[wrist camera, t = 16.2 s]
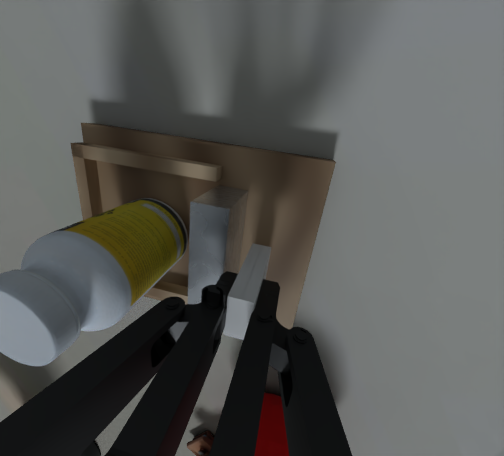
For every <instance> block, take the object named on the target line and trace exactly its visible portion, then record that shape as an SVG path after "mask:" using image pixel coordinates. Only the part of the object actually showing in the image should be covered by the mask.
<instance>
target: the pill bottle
mask: <svg viewBox="0 0 504 456" xmlns="http://www.w3.org/2000/svg"><path fill="white" fill-rule="evenodd" d="M187 244H188V235H187V230H186V227H185V224H184V222H183V220H182V219H181V217H180V216H179V215H178V214H177V212H176V211H175V210H174V209H172V208H171V207H170V206H169V205H167V204H165V203H163V202H161V201H159V200H156V199H151V198H142V199H137V200H134V201H131V202H128V203H126V204H123V205H121V206H118V207H116V208H113V209H111V210H108V211H105V212H103V213H101V214H98V215H96V216H93V217H90V218H88V219H85V220H83V221H80V222H78V223H75V224H72V225H70V226H67V227H65V228H62V229H59V230H57V231H54V232H52V233H49V234H47V235H45V236H43V237H41V238H39V239H38V240H36V241H35V242H34V243H33V244H32V245H31V246H30V247H29V248H28V250H27V251H26V253H25V255H24V257H23V260H22V263H21V270H11V271H9V272H4V273H1V274H0V352H1V353H3V354H4V355H6V356H7V357H9V358H11V359H13V360H15V361H17V362H19V363H22V364H26V365H29V366H44V365H47V364H49V363H50V362H52V361H53V360H54V359H55V358H57V357H58V356H59V355H60V354H61V353H62V352H64V351H65V350H66V349H67V348H68V347H70V346H71V345H72V344H73V343H74V342H75V340H76V339H77V338H78V337H79V335H80V331H98V330H103V329H106V328H108V327H111V326H112V325H114V324H116V323H117V322H118V321H120V320H121V319H122V318H123V317H124V316H125V315H126V314H127V313H128V312H129V311H130V310H131V309H132V308H133V306H134V305H135V304H136V303H137V302H138V301H139V300H140V299H141V298H142V297H143V296H144V295H145V294H146V293H147V292H148V291H149V290H150V289H151V288H152V287H153V286H154V285H155V284H156V283H157V282H158V281H159V280H160V279H161V278H162V277H163V276H164V275H165V274H166V273H167V272H168V271H169V270H170V269H171V268H172V267H173V266H174V265H175V264H176V263H177V262H178V261H179V260H180V259H181V258H182V256H183V255H184V253H185V251H186V248H187Z"/></svg>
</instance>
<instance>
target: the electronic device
mask: <svg viewBox="0 0 504 456" xmlns="http://www.w3.org/2000/svg"><path fill="white" fill-rule="evenodd" d="M213 440H214V437H213V436H212V435H211V432H210V431H208V430H207V431H206V432H204V433H202V434H200V435H198V436H196V437H194V438H193V440H192V441H190V442H188V443H187V448H188V449H190V450H191V451H192V452H193V453H194V454H195V455H196V456H209V454H210V451H211V447H212V444H213Z"/></svg>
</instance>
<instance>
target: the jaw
mask: <svg viewBox="0 0 504 456" xmlns="http://www.w3.org/2000/svg"><path fill="white" fill-rule="evenodd" d="M248 191H249V190H243V189H238V188H232V187H227V186H221V185H218V186H216V187H215V188H213V189H211V190H209V191H208V192H206V193H204V194H203V195H201V196H199V197H198V198H196V199H194V200H192V201H191V202H190V235H189V271H188V304H198V303H201V294H202V289H203V288H204V287H205V286H208V285H216V283H217V281H218V280H219V278H220V276H221V274H223V273H225V272H226V271H229V272H233V273H237V274H238V270H239V262H240V254H241V246H242V238H243V230H244V223H245V215H246V207H247V199H248Z"/></svg>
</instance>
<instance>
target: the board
mask: <svg viewBox="0 0 504 456" xmlns="http://www.w3.org/2000/svg"><path fill="white" fill-rule="evenodd" d="M81 127H82V134H83V141H84V143H71V149H72V155H73V161H74V167H75V173H76V179H77V185H78V191H79V198H80V204H81V210H82V216H83V220H85V219H88V218H90V217H93V216H96V215H98V214H101V213H103V212H105V211H108V210H111V209H113V208H116V207H118V206H121V205H123V204H126V203H128V202H131V201H134V200H137V199H142V198H151V199H156V200H159V201H161V202H163V203H165V204H167V205H169V206H170V207H171V208H172V209H174V210H175V211H176V212H177V214H178V215H179V216H180V217H181V219H182V220H183V222H184V224H185V227H186V230H187V235H188V244H187V248H186V251H185V253H184V255H183V256H182V258H181V259H180V260H179V261H178V262H177V263H176V264H175V265H174V266H173V267H172V268H171V269H170V270H169V271H168V272H167V273H166V274H165V275H164V276H163V277H162V278H161V279H160V280H159V281H158V282H157V283H156V284H155V285H154V286H153V287H152V288H151V289H150V290H149V291H148V292H147V293H146V294H145V295H144V296H145V297H149V298H153V299H157V300H161V301H162V300H164V299H165V298H168V297H180V298H182V299H183V300H184V301H185V304H188V271H189V235H190V202H191V201H192V200H194V199H196V198H198V197H199V196H201V195H203V194H204V193H206V192H208V191H209V190H211V189H213V188H215V187H216V186H218V185H221V186H227V187H232V188H238V189H243V190H249V191H248V199H247V207H246V215H245V223H244V230H243V238H242V246H241V254H240V262H239V270H238V273H239V271H240V269H241V267H242V265H243V263H244V261H245V258H246V256H247V254H248V252H249V250H250V248H251V246H252V244H253V243H254V244H258V245H263V246H268V247H271V252H270V258H269V263H268V268H267V274H266V280H270V281H274V282H278V284H279V286H280V292H279V299H278V305H277V312H276V318H277V320H278V322H279V323H280V324H281V325H282V326H284V327H285V328H287V329H291V328H292V327H293V323H294V319H295V315H296V312H297V308H298V304H299V300H300V296H301V293H302V289H303V285H304V281H305V277H306V274H307V270H308V266H309V262H310V258H311V255H312V251H313V247H314V243H315V239H316V236H317V232H318V228H319V224H320V220H321V216H322V213H323V209H324V205H325V201H326V197H327V194H328V190H329V186H330V182H331V178H332V175H333V171H334V167H335V163H336V162H335V161H334V160H330V159H323V158H317V157H310V156H304V155H297V154H291V153H284V152H278V151H271V150H265V149H258V148H252V147H245V146H239V145H232V144H225V143H219V142H212V141H206V140H199V139H193V138H186V137H180V136H173V135H167V134H160V133H154V132H147V131H141V130H134V129H128V128H121V127H115V126H108V125H102V124H94V123H81Z"/></svg>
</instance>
